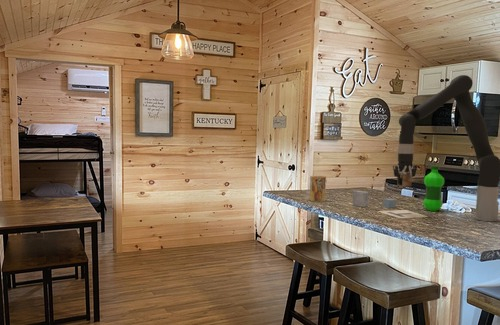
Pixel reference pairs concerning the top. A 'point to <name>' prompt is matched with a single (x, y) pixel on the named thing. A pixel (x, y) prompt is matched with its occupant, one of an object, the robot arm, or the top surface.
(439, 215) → the top surface
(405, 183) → the walnut block
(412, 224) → the top surface
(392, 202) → the slate cube
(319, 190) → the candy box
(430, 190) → the plastic bottle
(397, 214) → the board
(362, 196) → the medicine box
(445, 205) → the top surface
